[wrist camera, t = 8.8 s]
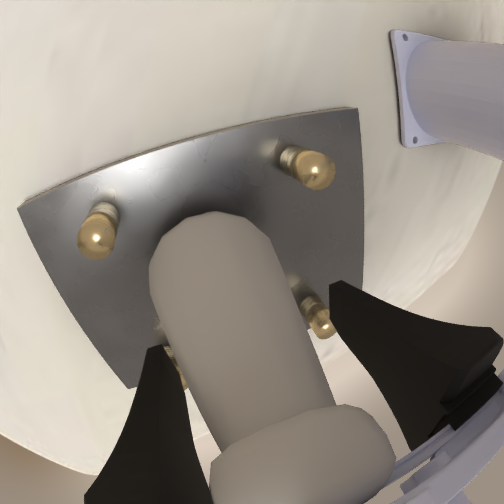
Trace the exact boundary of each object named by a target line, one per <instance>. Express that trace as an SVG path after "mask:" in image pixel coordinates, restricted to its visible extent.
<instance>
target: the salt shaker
mask: <svg viewBox="0 0 504 504" xmlns="http://www.w3.org/2000/svg"><path fill="white" fill-rule="evenodd" d="M149 286H150V295H151V298H152V301H153V303H154V306H155V309H156V312H157V314H158V317H159V319H160V322H161V325H162V327H163V330H164V332H165V335H166V337H167V340H168V342H169V344H170V347H171V349H172V352H173V354H174V356H175V359H176V361H177V363H178V366H179V368H180V370H181V372H182V375H183V377H184V379H185V381H186V383H187V386H188V388H189V390H190V392H191V394H192V396H193V398H194V400H195V402H196V404H197V407H198V409H199V411H200V413H201V415H202V417H203V419H204V421H205V422H206V424H207V426H208V428H209V430H210V432H211V434H212V436H213V438H214V440H215V441H216V443H217V445H218V447H219V449H220V451H221V452H222V453H221V454H220V455H219V456H218V457H217V458H216V459H215V460H213V461H212V462H211V470H210V484H209V488H210V493H211V497H212V501H213V504H364V503H365V502H367V501H368V500H370V499H371V498H373V497H374V496H375V495H376V494H377V493H378V492H379V491H380V490H381V489H382V488H383V487H384V486H385V485H386V484H387V483H388V481H389V480H390V479H391V476H392V473H393V469H394V465H395V461H396V456H395V454H394V451H393V449H392V446H391V444H390V442H389V440H388V437H387V435H386V433H385V432H384V431H383V430H382V428H381V427H380V426H379V425H378V423H377V422H376V421H375V419H374V418H373V417H372V416H371V415H370V414H368V413H367V412H366V411H364V410H363V409H361V408H358V407H354V406H350V405H346V404H343V405H336V403H335V400H334V398H333V395H332V392H331V390H330V387H329V384H328V382H327V379H326V377H325V374H324V372H323V369H322V366H321V364H320V361H319V359H318V356H317V354H316V351H315V349H314V346H313V344H312V341H311V339H310V336H309V333H308V331H307V328H306V326H305V323H304V321H303V318H302V316H301V314H300V311H299V309H298V306H297V304H296V301H295V299H294V296H293V294H292V291H291V289H290V286H289V284H288V282H287V279H286V277H285V274H284V272H283V269H282V267H281V265H280V262H279V260H278V257H277V255H276V253H275V250H274V248H273V245H272V243H271V241H270V238H269V237H267V236H266V235H265V234H264V233H263V232H262V231H260V230H259V229H258V228H257V227H256V226H255V225H253V224H252V223H251V222H250V221H249V220H247V219H246V218H244V217H240V216H236V215H232V214H227V213H223V212H218V211H213V212H206V213H204V214H201V215H197V216H193V217H188V218H186V219H184V220H183V221H182V222H180V223H179V224H178V225H176V226H175V227H174V228H172V229H171V230H170V231H168V232H167V233H166V234H165V235H163V236H162V238H161V240H160V242H159V244H158V246H157V248H156V250H155V252H154V254H153V256H152V258H151V261H150V264H149Z"/></svg>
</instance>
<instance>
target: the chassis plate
mask: <svg viewBox="0 0 504 504" xmlns="http://www.w3.org/2000/svg"><path fill="white" fill-rule="evenodd" d="M17 210H18V212H19V215H20V217H21V219H22V222H23V224H24V226H25V228H26V231H27V233H28V235H29V237H30V239H31V241H32V243H33V245H34V247H35V249H36V251H37V253H38V255H39V257H40V259H41V261H42V263H43V265H44V267H45V269H46V270H47V272H48V274H49V276H50V278H51V279H52V281H53V283H54V285H55V286H56V288H57V290H58V292H59V293H60V295H61V297H62V298H63V300H64V301H65V303H66V305H67V306H68V308H69V310H70V311H71V313H72V314H73V316H74V317H75V319H76V320H77V322H78V323H79V325H80V326H81V328H82V329H83V331H84V332H85V334H86V335H87V337H88V338H89V339H90V341H91V342H92V344H93V345H94V346H95V348H96V349H97V350H98V352H99V353H100V354H101V356H102V357H103V358H104V360H105V361H106V362H107V364H108V365H109V366H110V368H111V369H112V370H113V371H114V373H115V374H116V375H117V376H118V378H119V379H120V380H121V381H122V382H123V384H124V385H125V386H126V387H127V388H128V389H130V388H134V387H138V383H139V379H140V376H141V372H142V368H143V364H144V359H145V355H146V351H147V349H148V348H150V347H153V346H156V345H160V344H162V345H163V347H164V349H165V351H166V352H167V354H168V356H169V357H170V359H171V361H172V362H173V364H174V366H175V367H176V369H177V371H178V372H179V374H180V378H181V381H182V385H183V388H184V390H186V389H187V388H188V386H187V383H186V381H185V379H184V377H183V375H182V372H181V370H180V368H179V366H178V363H177V361H176V359H175V356H174V354H173V352H172V349H171V347H170V344H169V342H168V340H167V337H166V335H165V332H164V330H163V327H162V325H161V322H160V319H159V317H158V314H157V312H156V309H155V306H154V303H153V301H152V298H151V295H150V286H149V264H150V261H151V258H152V256H153V254H154V252H155V250H156V248H157V246H158V244H159V242H160V240H161V238H162V236H163V235H165V234H166V233H167V232H168V231H170V230H171V229H172V228H174V227H175V226H176V225H178V224H179V223H180V222H182V221H183V220H184V219H186V218H188V217H193V216H197V215H201V214H204V213H206V212H213V211H218V212H223V213H227V214H232V215H236V216H240V217H244V218H246V219H247V220H249V221H250V222H251V223H252V224H253V225H255V226H256V227H257V228H258V229H259V230H260V231H262V232H263V233H264V234H265V235H266V236H267V237H269V238H270V241H271V243H272V245H273V248H274V250H275V253H276V255H277V257H278V260H279V262H280V265H281V267H282V269H283V272H284V274H285V277H286V279H287V282H288V284H289V286H290V289H291V291H292V294H293V296H294V299H295V301H296V304H297V306H298V309H299V311H300V314H301V316H302V318H303V321H304V323H305V326H306V328H307V330H308V329H310V328H312V330H313V331H314V332H315V334H316V335H317V337H318V338H319V339H327V338H329V337H331V336H333V335H334V334H335V333H336V332H337V331H336V329H335V328H334V326H333V324H332V322H331V321H330V319H329V285H330V284H332V283H335V282H337V281H339V280H342V281H344V282H346V283H348V284H350V285H352V286H354V287H356V288H358V289H360V290H362V283H363V261H364V186H363V163H362V147H361V134H360V123H359V113H358V108H352V107H343V108H334V109H326V110H319V111H312V112H306V113H299V114H293V115H287V116H282V117H276V118H271V119H266V120H261V121H256V122H251V123H247V124H242V125H238V126H234V127H229V128H225V129H221V130H217V131H213V132H209V133H205V134H202V135H198V136H194V137H191V138H187V139H184V140H180V141H177V142H173V143H170V144H167V145H164V146H161V147H157V148H154V149H151V150H148V151H145V152H142V153H139V154H136V155H133V156H131V157H128V158H125V159H122V160H119V161H117V162H114V163H111V164H109V165H106V166H104V167H101V168H98V169H96V170H93V171H91V172H88V173H86V174H84V175H81V176H79V177H76V178H74V179H72V180H70V181H67V182H65V183H63V184H60V185H58V186H56V187H54V188H52V189H50V190H47V191H45V192H43V193H41V194H39V195H37V196H35V197H33V198H31V199H29V200H27V201H25V202H24V203H22V204H21V205H20V206H19V207H18V208H17Z"/></svg>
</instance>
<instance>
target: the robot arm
mask: <svg viewBox="0 0 504 504" xmlns="http://www.w3.org/2000/svg"><path fill="white" fill-rule="evenodd" d="M402 36H403V37H404V39H403V37H402ZM391 41H392V47H393V53H394V60H395V67H396V75H397V84H398V94H399V105H400V119H401V139H402V144H403V146H404V147H407V148H413V147H419V146H424V145H430V144H436V143H443V142H452V143H455V144H458V145H461V146H464V147H467V148H470V149H473V150H476V151H479V152H482V153H484V154H487V155H490V156H492V157H495V158H498V159H500V160H503V161H504V44H496V43H485V42H469V41H449V40H445V39H441V38H437V37H433V36H429V35H424V34H420V33H415V32H410V31H404V30H392V31H391ZM413 138H414V139H413ZM329 319H330V321H331V322H332V324H333V326H334V328H335V329H336V331H337V333H338V334H339V336H340V337H341V339H342V340H343V341H344V342H345V344H346V345H347V346H348V348H349V349H350V350H351V351H352V352H353V354H354V355H355V356H356V357H357V359H358V360H359V361H360V362H361V364H362V365H363V366H364V367H365V369H366V370H367V371H368V372H369V374H370V375H371V376H372V378H373V379H374V381H375V383H376V384H377V386H378V388H379V389H380V391H381V392H382V394H383V396H384V398H385V400H386V401H387V403H388V405H389V407H390V408H391V410H392V412H393V414H394V416H395V418H396V420H397V422H398V424H399V426H400V428H401V430H402V432H403V435H404V437H405V439H406V441H407V444H408V446H409V448H410V450H411V451H412V452H411V453H409V454H408V455H406V456H405V457H403V458H402V459H400V460H398V461H397V462H395V465H394V469H393V473H392V476H391V479H390V480H389V481H388V483H387V484H386V485H385V486H384V487H386V486H388V485H389V484H391V483H393V482H394V481H396V480H397V479H399V478H401V477H402V476H404V475H405V474H407V473H408V472H410V471H411V470H413V469H414V468H416V467H417V466H419V465H420V464H422V463H423V462H424V461H426V460H427V459H428V458H430V457H431V458H430V462H429V463H427V464H426V465H425V466H423V467H422V468H421V469H419V470H418V471H417V472H415V473H414V474H413V475H412V476H411V477H410V478H409V479H408V480H406V481H405V482H404V483H402V484H401V485H400V487H401V489H402V491H403V492H404V495H403V496H402V497H400V498H399V499H397V500H396V501H394V502H392V503H391V504H472V503H471V502H470V500H469V499H468V497H467V496H466V494H465V493H464V492H463V490H462V489H464V487H466V486H467V485H468V484H469V482H471V481H472V480H473V479H474V478H475V477H476V475H478V474H479V473H480V472H481V471H482V470H483V469H484V467H485V466H486V465H487V464H488V463H489V462H490V461H491V460H492V459H493V457H494V456H495V455H496V454H497V453H498V452H499V451H500V449H501V448H502V447H503V446H504V369H503V370H502V372H501V373H500V374H499V375H498V377H497V376H496V375H495V373H494V372H495V371H496V368H495V367H494V366H493V365H492V364H493V362H494V360H495V359H496V357H497V355H498V354H499V352H500V350H501V348H502V346H503V338H502V337H501V336H500V335H499V334H497V333H496V332H495V331H494V330H493V329H492V328H491V327H475V326H465V325H458V324H452V323H447V322H442V321H438V320H434V319H430V318H426V317H423V316H420V315H417V314H414V313H411V312H408V311H406V310H403V309H401V308H398V307H396V306H393V305H391V304H389V303H387V302H384V301H382V300H380V299H378V298H376V297H374V296H372V295H370V294H368V293H366V292H364V291H362V290H360V289H358V288H356V287H354V286H352V285H350V284H348V283H346V282H344V281H342V280H339V281H337V282H335V283H332V284H330V285H329ZM384 487H383V488H384ZM383 488H382V489H383ZM84 504H213V501H212V497H211V493H210V489H209V487H208V485H207V482H206V479H205V477H204V474H203V471H202V468H201V466H200V463H199V459H198V457H197V453H196V450H195V446H194V442H193V437H192V432H191V426H190V420H189V414H188V408H187V402H186V396H185V392H184V388H183V385H182V381H181V378H180V374H179V372H178V371H177V369H176V367H175V366H174V364H173V362H172V361H171V359H170V357H169V356H168V354H167V352H166V351H165V349H164V347H163V345H162V344H160V345H156V346H153V347H150V348H148V349H147V351H146V355H145V359H144V364H143V368H142V372H141V376H140V379H139V383H138V387H137V390H136V394H135V397H134V400H133V403H132V406H131V409H130V412H129V415H128V418H127V420H126V423H125V426H124V428H123V430H122V433H121V435H120V437H119V439H118V441H117V443H116V446H115V448H114V450H113V452H112V453H111V455H110V457H109V459H108V461H107V462H106V464H105V466H104V467H103V469H102V471H101V472H100V474H99V475H98V477H97V479H96V480H95V481H94V483H93V484H92V485H91V487H90V488H89V489H88V491H87V492H86V494H85V495H84Z"/></svg>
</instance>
